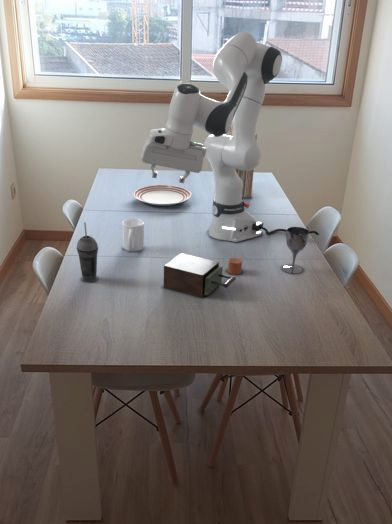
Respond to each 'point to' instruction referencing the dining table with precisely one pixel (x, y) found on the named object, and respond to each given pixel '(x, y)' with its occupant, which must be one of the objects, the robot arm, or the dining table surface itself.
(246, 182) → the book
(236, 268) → the orange cylinder puck
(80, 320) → the dining table surface
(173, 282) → the cabinet
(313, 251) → the dining table surface
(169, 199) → the dinner plate
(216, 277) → the drawer
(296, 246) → the wine glass
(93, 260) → the beverage cup
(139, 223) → the mug
